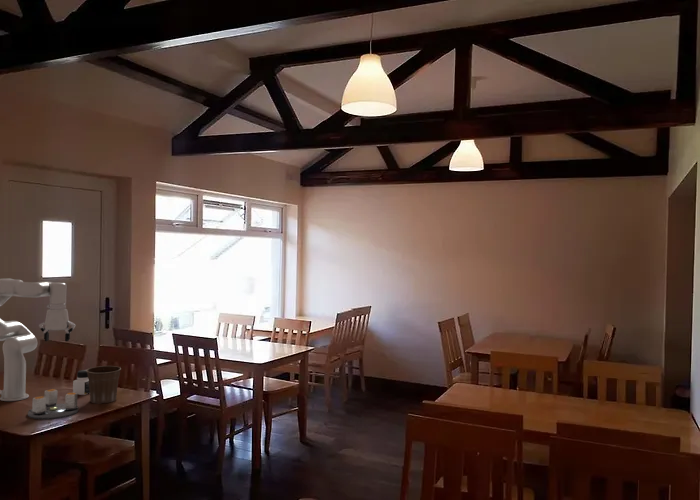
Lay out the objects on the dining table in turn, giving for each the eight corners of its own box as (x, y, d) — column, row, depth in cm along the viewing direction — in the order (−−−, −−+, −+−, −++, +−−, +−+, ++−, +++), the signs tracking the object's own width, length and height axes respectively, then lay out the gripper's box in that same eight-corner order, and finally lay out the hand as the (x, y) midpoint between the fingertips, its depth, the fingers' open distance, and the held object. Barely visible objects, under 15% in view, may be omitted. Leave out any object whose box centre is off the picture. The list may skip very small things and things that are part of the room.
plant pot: (108, 406, 279) (109, 373, 279) (78, 403, 282) (79, 371, 282) (126, 397, 295) (127, 366, 295) (98, 395, 298) (98, 365, 298)
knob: (35, 415, 255) (36, 398, 255) (30, 413, 258) (30, 396, 258) (46, 413, 259) (47, 396, 259) (41, 411, 262) (41, 394, 262)
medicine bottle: (84, 395, 298) (85, 372, 298) (72, 394, 300) (73, 371, 300) (93, 392, 305) (93, 369, 305) (81, 391, 307) (82, 368, 307)
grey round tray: (19, 419, 254) (19, 414, 254) (39, 406, 275) (39, 401, 275) (68, 419, 257) (69, 413, 257) (84, 406, 278) (84, 401, 278)
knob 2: (48, 407, 269) (49, 391, 269) (42, 405, 271) (43, 389, 271) (58, 404, 273) (58, 389, 273) (52, 403, 276) (52, 387, 276)
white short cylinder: (63, 410, 264) (64, 394, 264) (67, 407, 269) (68, 391, 269) (74, 410, 265) (75, 394, 265) (78, 407, 270) (79, 391, 270)
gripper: (36, 307, 281) (35, 342, 281) (73, 308, 283) (72, 342, 283) (42, 306, 289) (41, 339, 289) (78, 306, 291) (77, 339, 291)
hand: (56, 341), depth 286 cm, fingers open, 9 cm apart
